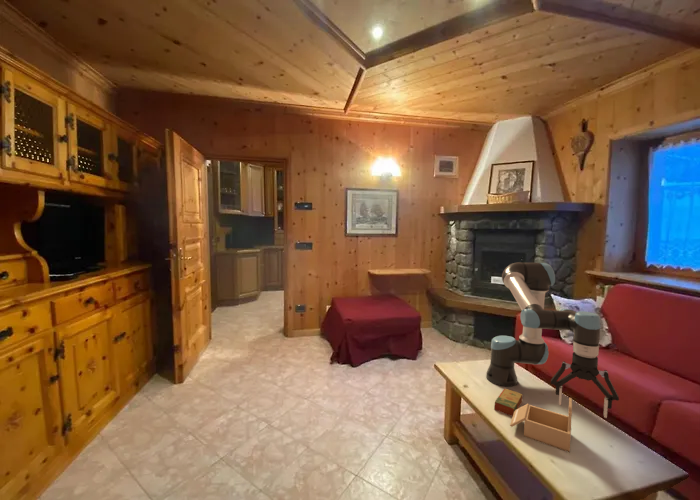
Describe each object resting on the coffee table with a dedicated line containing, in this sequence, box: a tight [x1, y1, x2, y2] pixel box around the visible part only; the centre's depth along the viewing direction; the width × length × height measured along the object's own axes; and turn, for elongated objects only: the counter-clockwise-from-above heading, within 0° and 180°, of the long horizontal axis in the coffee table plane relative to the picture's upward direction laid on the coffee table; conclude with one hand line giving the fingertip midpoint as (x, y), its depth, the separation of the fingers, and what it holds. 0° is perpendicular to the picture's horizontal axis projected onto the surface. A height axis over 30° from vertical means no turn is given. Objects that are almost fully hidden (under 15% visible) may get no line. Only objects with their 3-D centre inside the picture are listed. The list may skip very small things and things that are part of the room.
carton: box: [493, 388, 523, 417], centre depth 144 cm, size 8×16×4 cm, turn 139°
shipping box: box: [509, 403, 572, 453], centre depth 125 cm, size 13×20×8 cm, turn 55°
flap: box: [567, 397, 573, 432], centre depth 119 cm, size 13×1×7 cm, turn 145°
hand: (581, 409), depth 116 cm, fingers open, 13 cm apart
